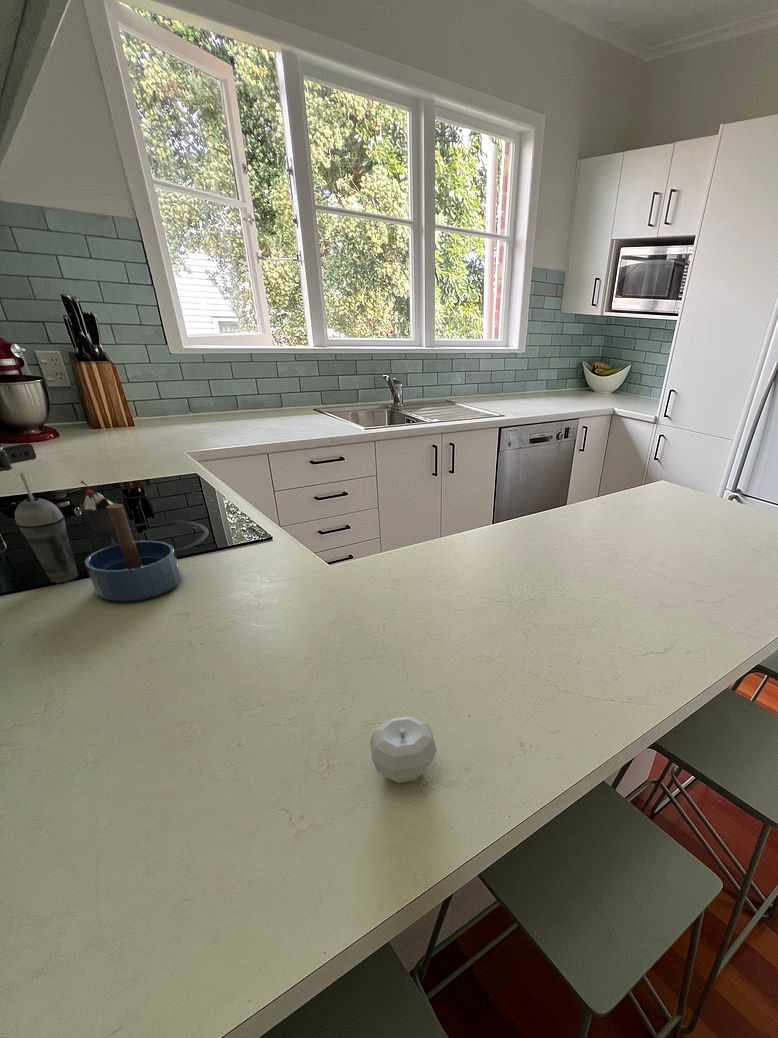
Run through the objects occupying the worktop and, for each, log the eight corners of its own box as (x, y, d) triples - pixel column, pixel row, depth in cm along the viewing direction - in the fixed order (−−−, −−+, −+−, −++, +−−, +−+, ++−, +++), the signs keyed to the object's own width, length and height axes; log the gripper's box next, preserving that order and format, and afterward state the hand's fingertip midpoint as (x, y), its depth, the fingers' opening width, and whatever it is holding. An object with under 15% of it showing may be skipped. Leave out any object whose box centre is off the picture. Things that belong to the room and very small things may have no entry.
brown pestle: (124, 588, 101) (96, 509, 93) (134, 578, 104) (108, 502, 96) (146, 588, 101) (121, 509, 93) (155, 578, 104) (131, 502, 96)
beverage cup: (42, 589, 101) (-6, 482, 90) (40, 575, 106) (-5, 471, 95) (88, 580, 104) (47, 476, 94) (84, 567, 109) (45, 466, 99)
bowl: (81, 604, 96) (67, 571, 93) (120, 571, 108) (109, 540, 105) (164, 604, 98) (154, 571, 94) (193, 571, 110) (185, 540, 106)
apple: (416, 739, 70) (415, 699, 66) (450, 777, 64) (450, 735, 61) (359, 765, 65) (354, 724, 62) (391, 807, 60) (387, 765, 57)
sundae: (100, 547, 118) (75, 478, 110) (134, 544, 120) (112, 476, 112) (91, 559, 113) (64, 487, 105) (128, 556, 115) (104, 485, 107)
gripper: (-115, 448, 63) (34, 425, 75) (-174, 432, 68) (-24, 413, 80) (-82, 510, 67) (55, 479, 79) (-139, 492, 72) (-2, 465, 84)
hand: (15, 446), depth 80 cm, fingers open, 8 cm apart
